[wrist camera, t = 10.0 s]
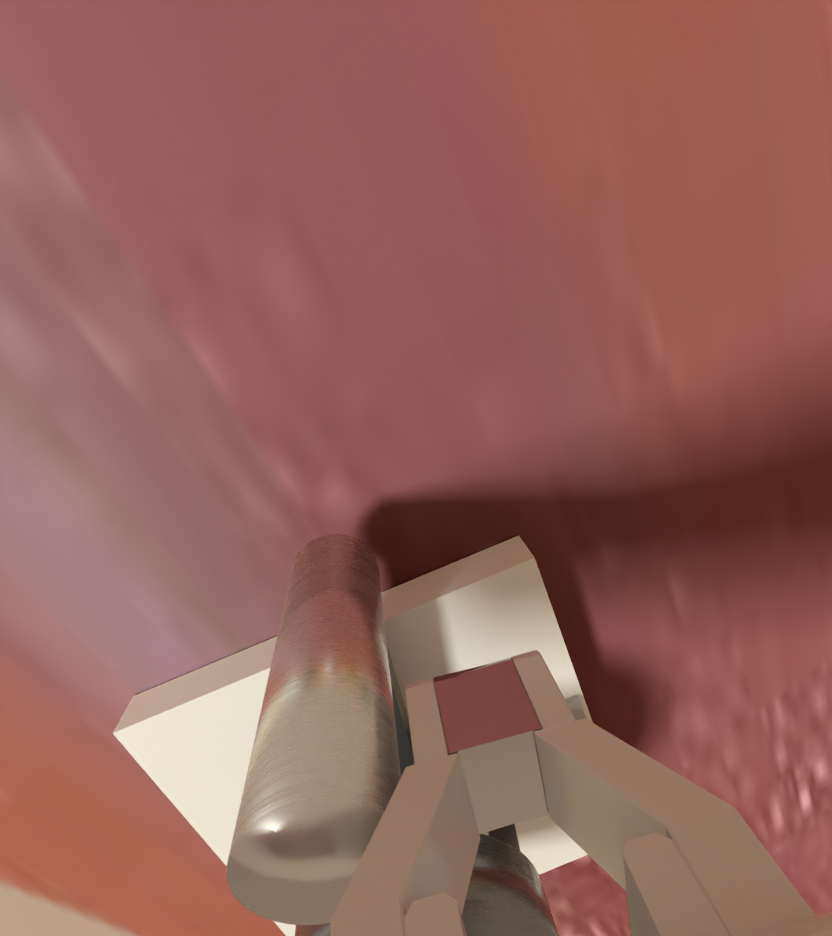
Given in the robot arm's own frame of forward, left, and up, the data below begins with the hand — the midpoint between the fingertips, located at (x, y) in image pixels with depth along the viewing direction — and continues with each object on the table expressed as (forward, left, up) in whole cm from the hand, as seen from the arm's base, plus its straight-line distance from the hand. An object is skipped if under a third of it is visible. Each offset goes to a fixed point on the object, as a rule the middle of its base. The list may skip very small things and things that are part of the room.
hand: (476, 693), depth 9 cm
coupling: (-5, +4, -5) cm, 8 cm away
